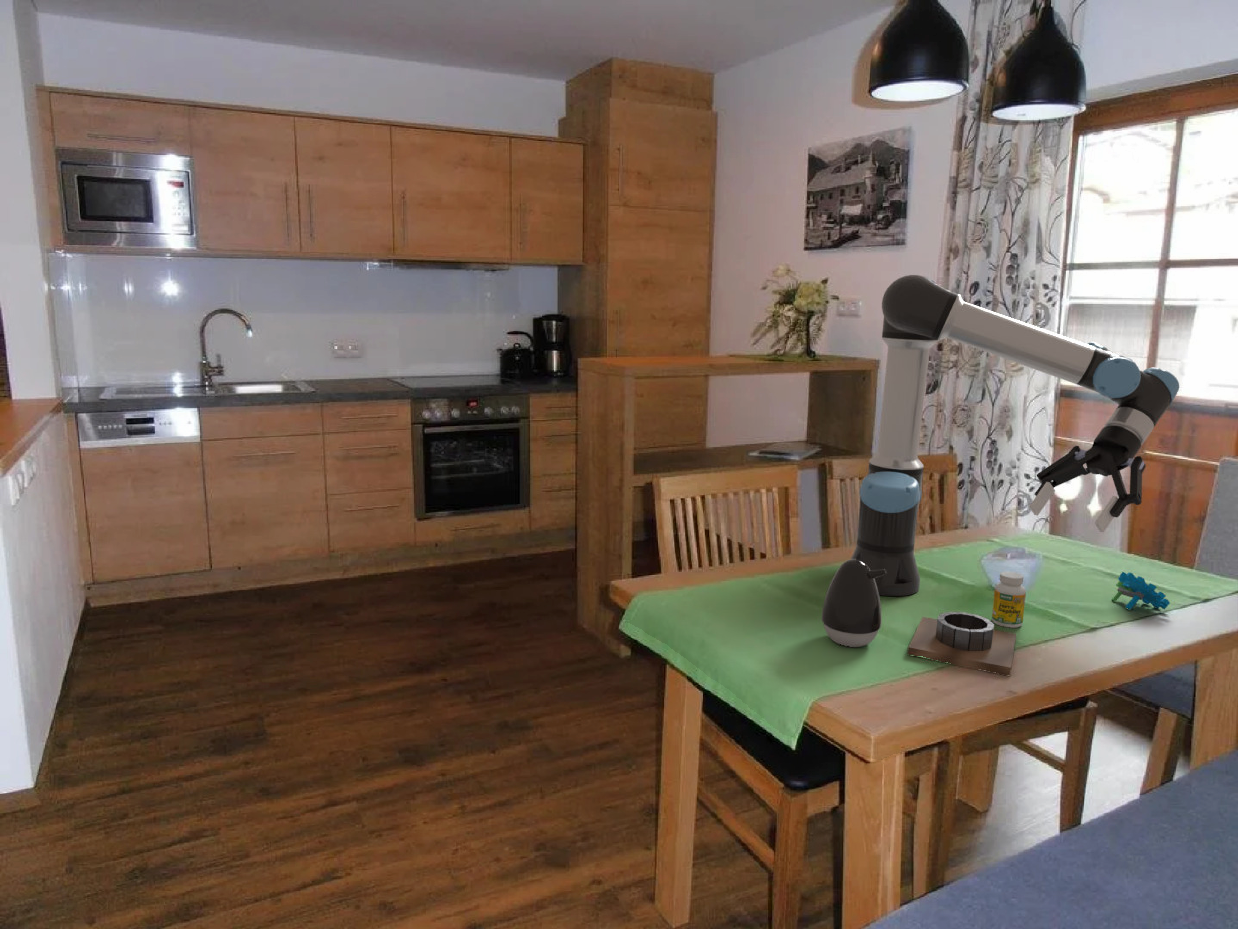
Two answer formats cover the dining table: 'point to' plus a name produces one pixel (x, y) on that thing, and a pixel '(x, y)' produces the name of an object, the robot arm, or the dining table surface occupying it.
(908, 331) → the robot arm
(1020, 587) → the supplement bottle
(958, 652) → the board
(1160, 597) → the gear
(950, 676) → the dining table surface
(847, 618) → the pump dispenser
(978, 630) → the collar
